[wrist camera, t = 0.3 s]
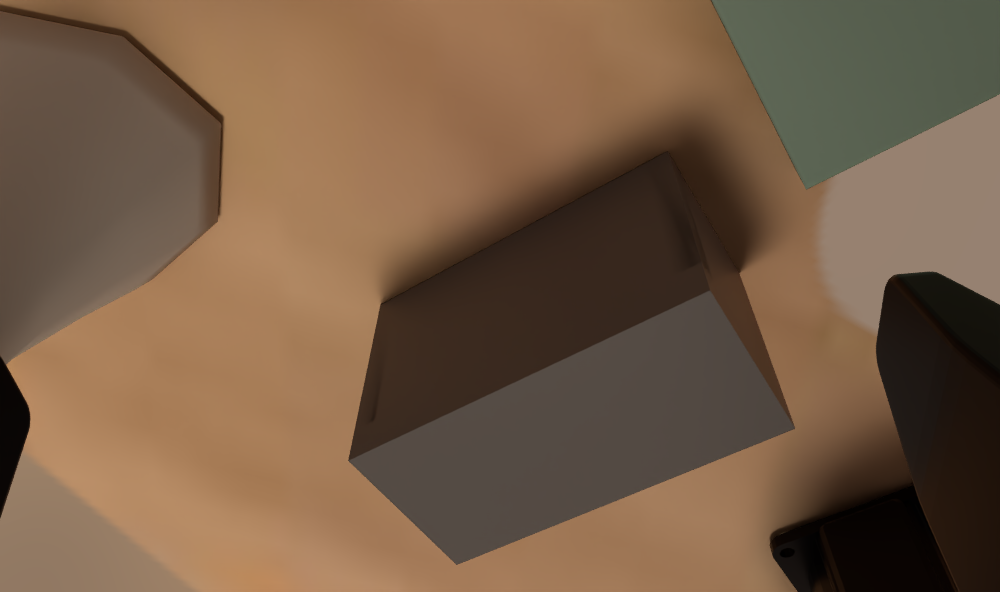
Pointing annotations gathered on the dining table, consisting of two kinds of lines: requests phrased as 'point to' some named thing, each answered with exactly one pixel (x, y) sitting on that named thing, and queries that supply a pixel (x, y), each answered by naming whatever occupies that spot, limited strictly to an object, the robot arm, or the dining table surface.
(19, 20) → the grey flared piece
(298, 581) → the dining table surface
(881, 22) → the header board
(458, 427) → the block
